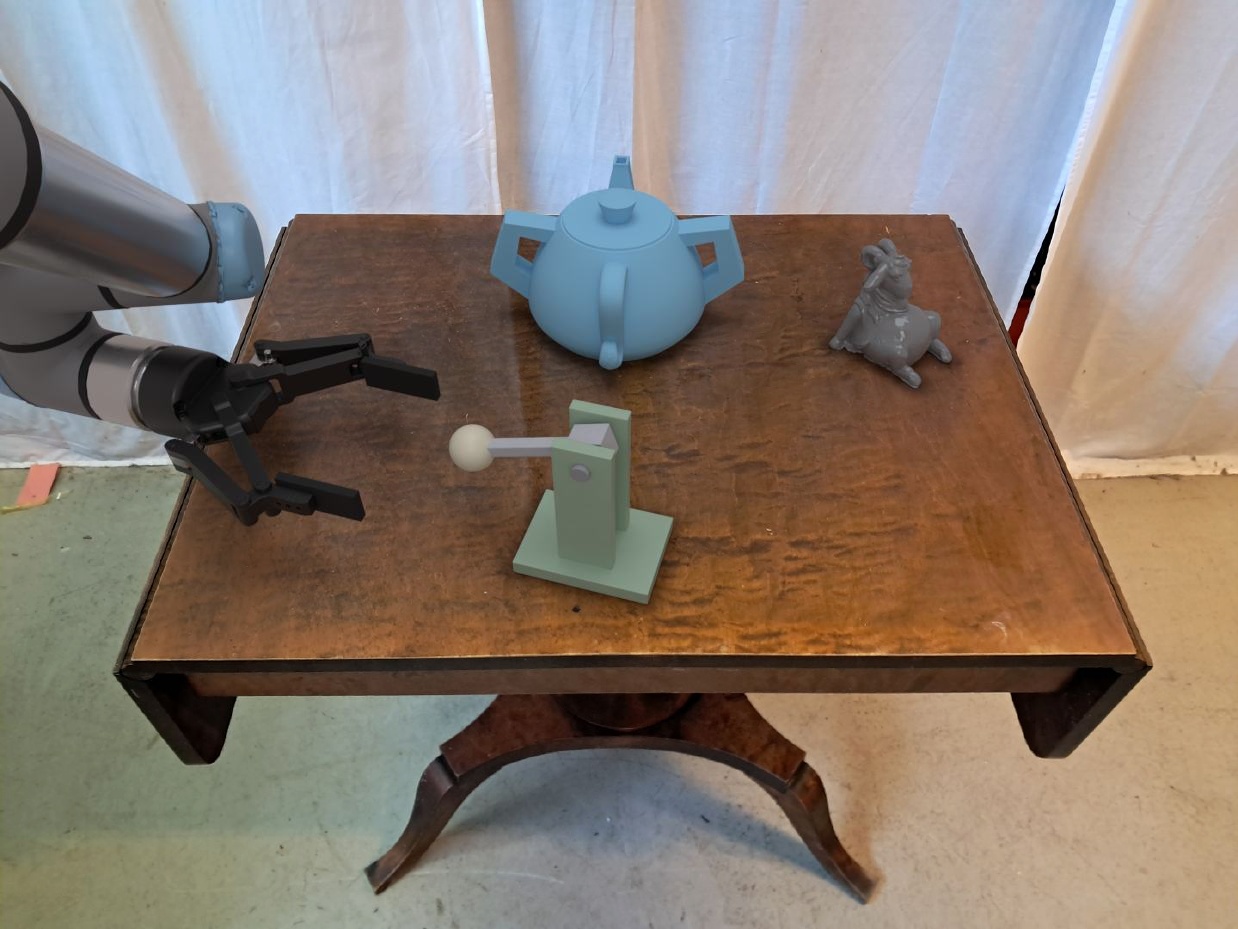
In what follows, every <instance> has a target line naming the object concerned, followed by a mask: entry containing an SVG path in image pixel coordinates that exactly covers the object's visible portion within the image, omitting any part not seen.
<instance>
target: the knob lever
mask: <svg viewBox="0 0 1238 929" xmlns="http://www.w3.org/2000/svg"><path fill="white" fill-rule="evenodd" d="M555 437H556V436H540V437H538V436H537V437H495V435H494V434H493V433H492V432H491V431H490V430H489V429H488V428H487V427H485V426H483V425H480V424H474V423H471V424H470V423H469V424H465V425H462V426H461V427H459V428H458V429H456V430H455V432H454V433H453V434H452V435H451V437H450V439H449V443H448V453H449V456H450V459H451V461H452V462H453V464H455V465H456V466H457V468H459V469H461V470H463V471H466V472H470V473H471V472H472V473H474V472H475V473H477V472H481V471H483V470H485V469H486V468H489V466H490V465H491V464H493V462H494V460H495V458H533V457H534V458H536V457H537V458H539V457H540V458H542V457H543V458H544V457H546V458H547V457H550V458H551V444H552V442H553V440H554V438H555ZM557 437H558V438H562V439H567V440H572V441H576V442H581V443H586V444H590V445H595V446H600V447H604V448H609V449H614V450H615V455H616V453H617V451H618V448H619V447H618V444H617V442H616V439H615V437H614V434H613V432H612V429H611V427H610V424H609V423H604V424H574V426H573V428H572V430H571V432H570V431H569V435H568V436H557Z"/></svg>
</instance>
